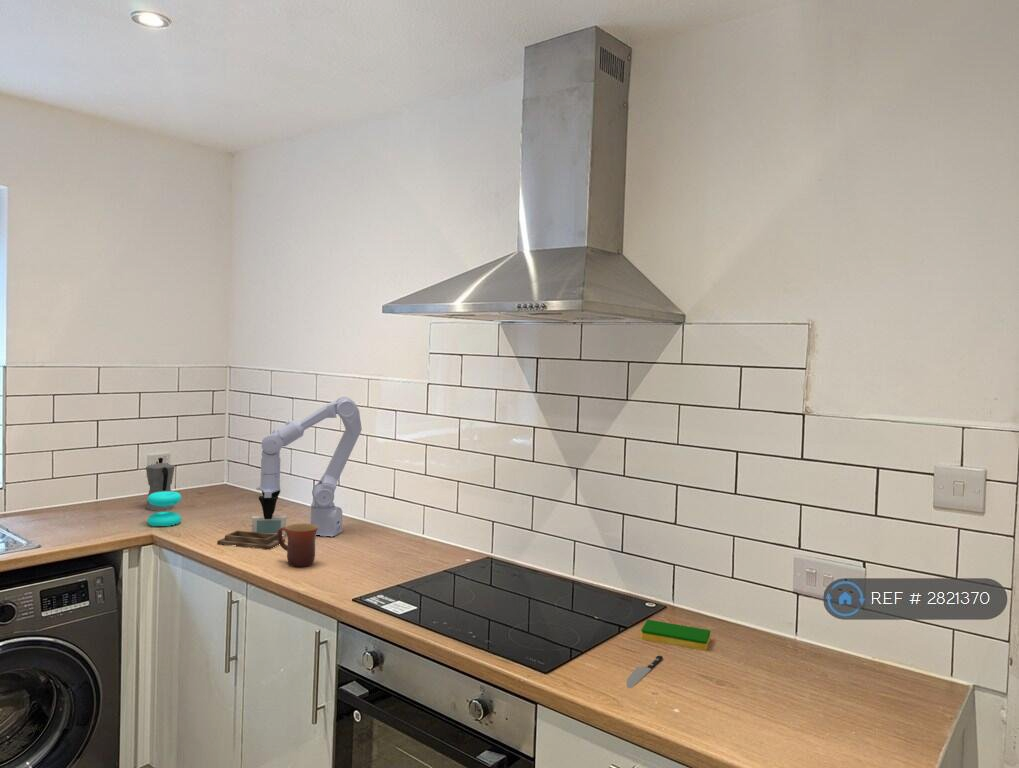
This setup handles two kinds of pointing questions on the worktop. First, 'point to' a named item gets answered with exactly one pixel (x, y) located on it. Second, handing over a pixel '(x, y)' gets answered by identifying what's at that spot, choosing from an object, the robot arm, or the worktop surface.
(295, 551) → the mug
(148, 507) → the coffeepot
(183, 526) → the worktop surface
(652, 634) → the dish sponge
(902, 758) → the worktop surface
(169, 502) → the donuts
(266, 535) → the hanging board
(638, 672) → the chef's knife
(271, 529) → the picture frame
